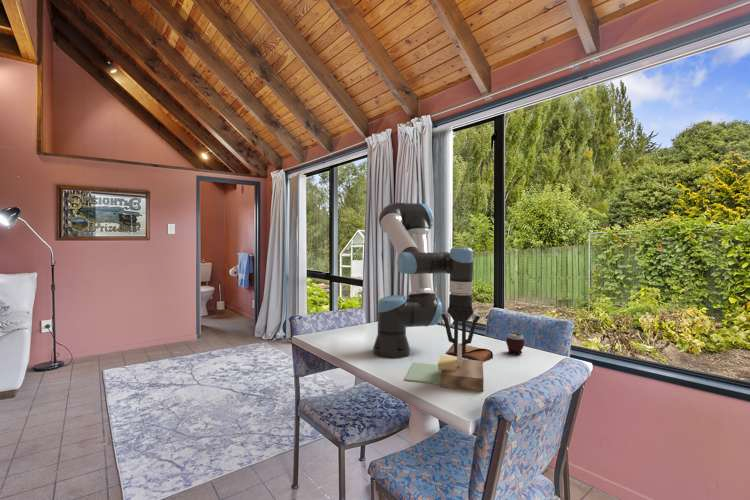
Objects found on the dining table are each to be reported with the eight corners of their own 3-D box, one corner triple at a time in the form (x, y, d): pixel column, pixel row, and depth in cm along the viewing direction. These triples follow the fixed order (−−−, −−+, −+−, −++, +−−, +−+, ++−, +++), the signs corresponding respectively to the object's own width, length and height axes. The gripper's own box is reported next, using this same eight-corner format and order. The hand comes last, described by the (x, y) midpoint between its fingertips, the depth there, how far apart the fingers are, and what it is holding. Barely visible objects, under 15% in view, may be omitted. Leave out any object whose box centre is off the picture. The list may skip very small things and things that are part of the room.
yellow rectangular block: (438, 369, 124) (438, 363, 124) (440, 360, 133) (440, 355, 133) (456, 370, 122) (456, 364, 122) (457, 362, 131) (457, 356, 131)
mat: (404, 380, 124) (404, 379, 124) (413, 363, 142) (413, 362, 142) (441, 384, 121) (441, 382, 121) (445, 366, 139) (445, 365, 139)
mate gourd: (502, 351, 159) (503, 316, 159) (519, 350, 161) (520, 315, 161) (513, 356, 152) (513, 319, 152) (530, 355, 154) (530, 319, 154)
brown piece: (440, 386, 119) (440, 374, 119) (445, 368, 137) (445, 357, 137) (483, 391, 116) (483, 378, 116) (482, 372, 133) (482, 360, 133)
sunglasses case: (443, 353, 155) (447, 338, 158) (450, 358, 160) (454, 343, 162) (484, 362, 143) (488, 346, 146) (490, 368, 148) (494, 352, 151)
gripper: (440, 294, 124) (439, 364, 125) (481, 296, 121) (479, 368, 122) (442, 291, 131) (440, 358, 132) (480, 293, 128) (479, 361, 129)
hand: (459, 363), depth 127 cm, fingers closed
